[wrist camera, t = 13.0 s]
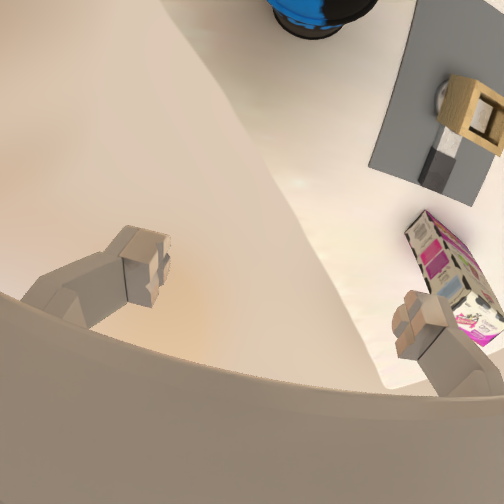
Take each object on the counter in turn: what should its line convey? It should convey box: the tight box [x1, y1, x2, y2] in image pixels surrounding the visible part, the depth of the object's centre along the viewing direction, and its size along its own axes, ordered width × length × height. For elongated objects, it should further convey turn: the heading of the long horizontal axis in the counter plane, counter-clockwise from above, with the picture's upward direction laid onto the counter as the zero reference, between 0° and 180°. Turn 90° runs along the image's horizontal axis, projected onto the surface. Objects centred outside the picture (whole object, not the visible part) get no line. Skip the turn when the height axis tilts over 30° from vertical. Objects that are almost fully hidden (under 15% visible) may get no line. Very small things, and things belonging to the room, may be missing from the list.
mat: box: [368, 0, 504, 207], centre depth 27 cm, size 28×17×1 cm, turn 169°
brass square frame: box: [436, 74, 504, 157], centre depth 24 cm, size 6×6×6 cm
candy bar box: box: [405, 210, 504, 347], centre depth 33 cm, size 11×5×16 cm, turn 62°
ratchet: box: [417, 78, 493, 194], centre depth 29 cm, size 15×7×5 cm, turn 169°
